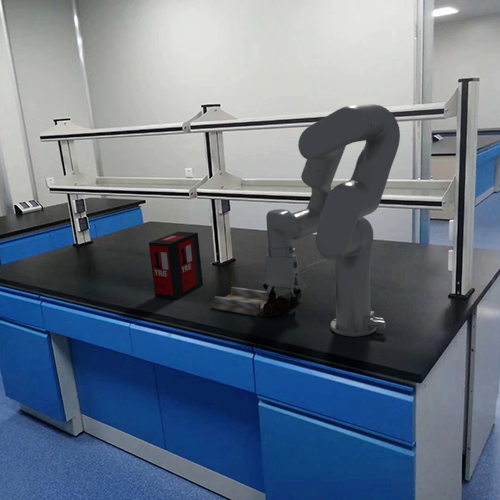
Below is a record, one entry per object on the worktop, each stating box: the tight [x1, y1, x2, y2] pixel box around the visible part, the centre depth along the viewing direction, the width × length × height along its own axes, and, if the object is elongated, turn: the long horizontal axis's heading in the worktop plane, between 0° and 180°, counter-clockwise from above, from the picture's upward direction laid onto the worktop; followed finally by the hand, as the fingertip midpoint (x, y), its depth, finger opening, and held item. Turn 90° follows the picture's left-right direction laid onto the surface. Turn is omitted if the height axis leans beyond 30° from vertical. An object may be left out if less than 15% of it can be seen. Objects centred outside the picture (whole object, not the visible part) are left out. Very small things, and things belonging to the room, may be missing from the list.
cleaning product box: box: [148, 231, 204, 301], centre depth 180 cm, size 16×9×20 cm, turn 151°
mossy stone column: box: [262, 290, 302, 318], centre depth 157 cm, size 18×7×6 cm, turn 146°
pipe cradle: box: [211, 286, 278, 317], centre depth 165 cm, size 17×14×3 cm
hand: (283, 305), depth 157 cm, fingers closed on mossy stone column, 6 cm apart
